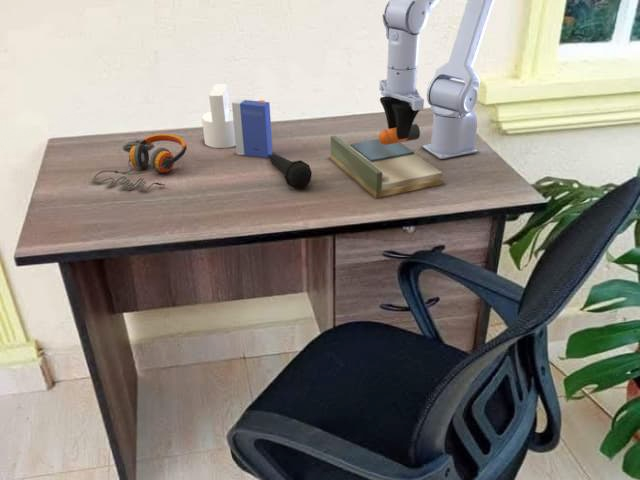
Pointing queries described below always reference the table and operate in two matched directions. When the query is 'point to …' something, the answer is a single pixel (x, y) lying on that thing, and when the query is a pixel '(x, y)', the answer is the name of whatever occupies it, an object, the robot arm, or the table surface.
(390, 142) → the orange capsule container
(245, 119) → the walkman
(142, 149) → the headphones
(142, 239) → the table surface
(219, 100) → the base with upright slab
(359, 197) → the table surface
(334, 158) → the bed
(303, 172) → the microphone
